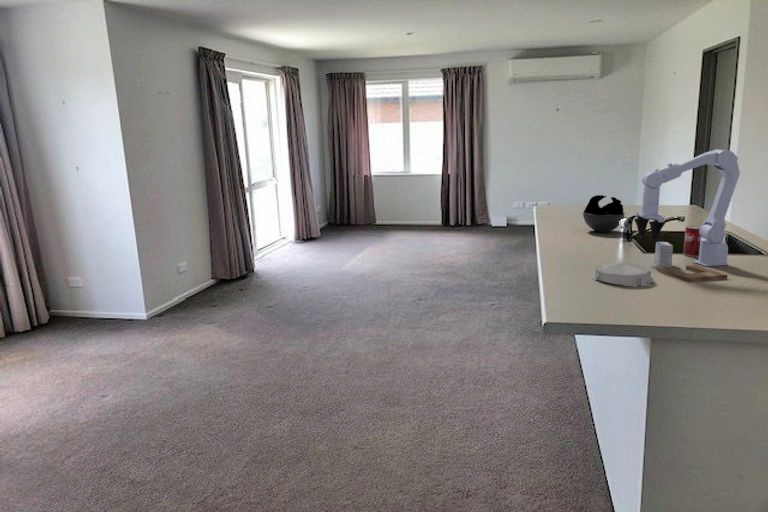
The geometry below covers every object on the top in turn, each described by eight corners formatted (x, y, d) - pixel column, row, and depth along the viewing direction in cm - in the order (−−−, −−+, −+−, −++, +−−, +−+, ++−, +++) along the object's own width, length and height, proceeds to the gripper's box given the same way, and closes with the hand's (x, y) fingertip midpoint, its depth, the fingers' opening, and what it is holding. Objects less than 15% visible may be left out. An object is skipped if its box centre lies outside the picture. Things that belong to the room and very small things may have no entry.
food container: (616, 290, 195) (618, 271, 194) (581, 275, 214) (583, 257, 212) (666, 286, 200) (668, 266, 199) (628, 271, 219) (629, 254, 217)
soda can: (701, 254, 244) (703, 225, 242) (704, 257, 238) (707, 228, 235) (681, 253, 247) (684, 225, 244) (684, 256, 240) (687, 228, 237)
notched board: (695, 268, 220) (695, 264, 220) (727, 278, 205) (727, 274, 205) (657, 271, 217) (657, 267, 217) (687, 282, 202) (687, 277, 202)
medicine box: (671, 267, 222) (673, 245, 220) (659, 267, 223) (660, 245, 221) (666, 263, 230) (667, 241, 228) (654, 262, 231) (655, 241, 229)
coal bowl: (578, 228, 310) (580, 193, 306) (617, 228, 307) (620, 193, 303) (586, 235, 291) (588, 197, 286) (627, 235, 288) (630, 197, 284)
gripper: (630, 201, 232) (627, 235, 235) (653, 206, 218) (651, 241, 221) (645, 200, 233) (643, 234, 236) (670, 205, 219) (667, 240, 222)
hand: (648, 237), depth 228 cm, fingers open, 7 cm apart
